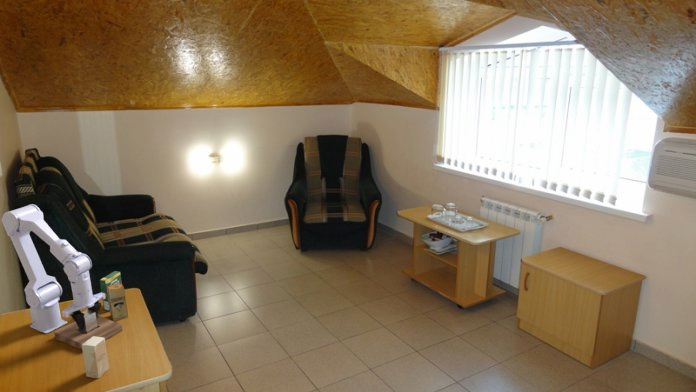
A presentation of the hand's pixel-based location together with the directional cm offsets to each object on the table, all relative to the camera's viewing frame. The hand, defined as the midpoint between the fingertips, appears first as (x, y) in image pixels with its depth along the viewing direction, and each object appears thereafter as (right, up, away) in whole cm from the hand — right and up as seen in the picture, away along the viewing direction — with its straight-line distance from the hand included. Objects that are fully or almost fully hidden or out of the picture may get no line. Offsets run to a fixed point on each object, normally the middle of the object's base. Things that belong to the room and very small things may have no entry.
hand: (87, 325), depth 165 cm
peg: (0, -2, +1) cm, 2 cm away
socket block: (0, -3, +1) cm, 3 cm away
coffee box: (0, +2, +19) cm, 20 cm away
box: (+13, -9, -18) cm, 24 cm away
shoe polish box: (+5, 0, +13) cm, 14 cm away
